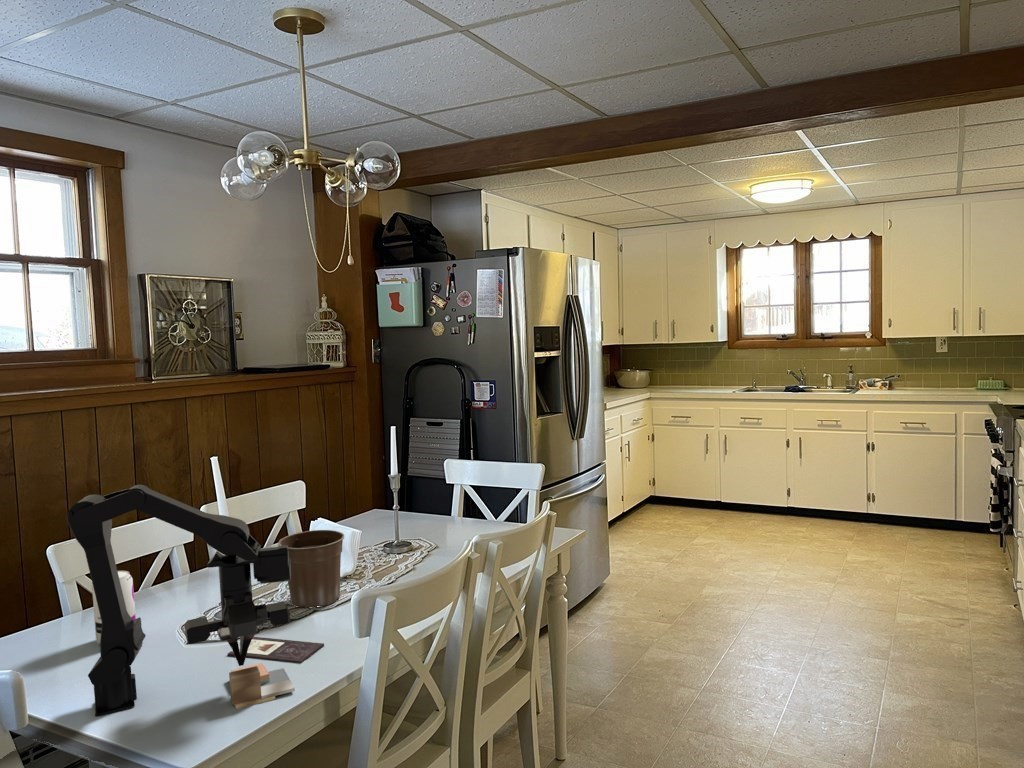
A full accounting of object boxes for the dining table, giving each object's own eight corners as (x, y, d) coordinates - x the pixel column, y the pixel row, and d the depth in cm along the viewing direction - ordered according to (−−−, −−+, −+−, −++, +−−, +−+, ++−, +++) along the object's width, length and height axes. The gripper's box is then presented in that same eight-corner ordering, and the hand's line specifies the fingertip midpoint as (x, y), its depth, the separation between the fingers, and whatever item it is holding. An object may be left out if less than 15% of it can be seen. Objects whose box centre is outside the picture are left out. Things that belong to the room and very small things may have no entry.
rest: (236, 709, 141) (235, 706, 141) (231, 698, 145) (231, 695, 145) (275, 699, 144) (275, 696, 144) (270, 688, 148) (269, 685, 148)
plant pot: (299, 617, 185) (295, 551, 184) (271, 601, 197) (267, 539, 196) (359, 599, 196) (356, 537, 194) (328, 585, 208) (325, 526, 206)
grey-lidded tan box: (233, 706, 141) (231, 679, 140) (230, 697, 144) (228, 671, 144) (294, 690, 146) (293, 665, 145) (290, 682, 149) (288, 657, 149)
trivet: (242, 695, 146) (242, 693, 146) (237, 680, 152) (237, 679, 152) (291, 683, 150) (291, 681, 150) (283, 669, 156) (283, 668, 156)
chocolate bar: (301, 661, 159) (227, 653, 164) (301, 666, 159) (227, 658, 164) (324, 643, 168) (253, 636, 173) (324, 647, 168) (253, 640, 173)
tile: (237, 681, 147) (269, 673, 150) (231, 670, 153) (262, 662, 156) (237, 690, 148) (269, 681, 150) (231, 678, 153) (262, 670, 156)
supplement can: (129, 629, 181) (124, 567, 180) (142, 639, 175) (137, 574, 174) (91, 640, 175) (86, 576, 174) (103, 650, 169) (98, 584, 168)
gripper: (187, 609, 136) (193, 694, 138) (294, 588, 145) (299, 669, 146) (181, 591, 146) (187, 670, 147) (282, 573, 155) (286, 648, 156)
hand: (241, 664), depth 149 cm, fingers closed
